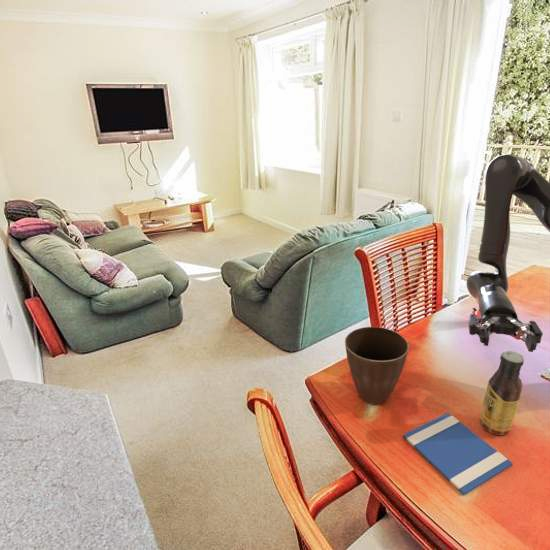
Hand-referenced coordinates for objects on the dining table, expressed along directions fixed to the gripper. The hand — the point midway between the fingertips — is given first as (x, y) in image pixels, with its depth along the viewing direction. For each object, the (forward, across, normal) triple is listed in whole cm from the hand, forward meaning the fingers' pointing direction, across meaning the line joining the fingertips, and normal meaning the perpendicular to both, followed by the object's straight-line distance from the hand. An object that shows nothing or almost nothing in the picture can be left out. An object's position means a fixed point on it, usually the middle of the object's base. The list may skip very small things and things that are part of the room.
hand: (509, 345), depth 81 cm
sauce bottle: (+4, 0, +20) cm, 20 cm away
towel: (+14, -9, +20) cm, 26 cm away
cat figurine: (-44, +3, +20) cm, 49 cm away
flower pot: (+1, -28, +20) cm, 34 cm away
